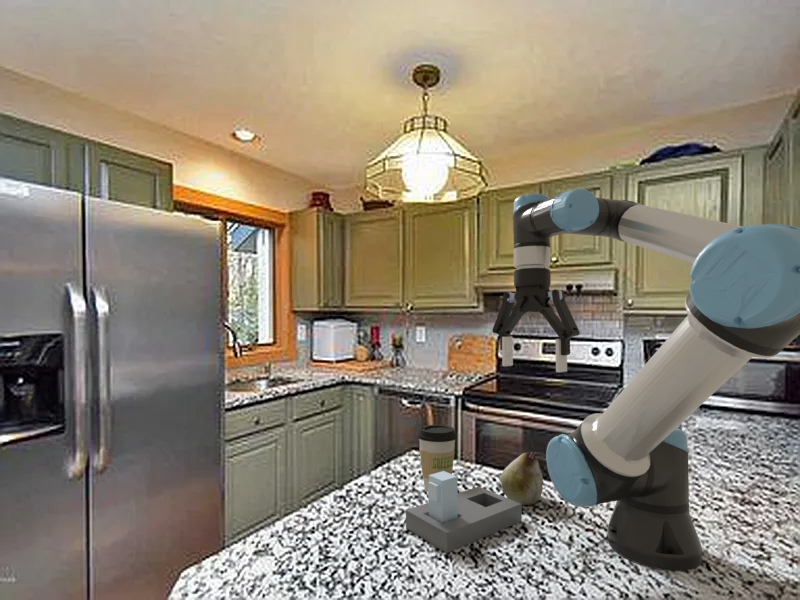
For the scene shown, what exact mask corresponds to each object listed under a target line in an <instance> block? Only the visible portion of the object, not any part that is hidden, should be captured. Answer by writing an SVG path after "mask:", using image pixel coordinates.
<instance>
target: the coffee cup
mask: <svg viewBox="0 0 800 600" xmlns="http://www.w3.org/2000/svg"><path fill="white" fill-rule="evenodd" d="M457 438H458V436H457V433H456V432H455V428H454V427H453V426H450V425H444V424H428V425H423V426H421V427H420V428H419V431H418V432H417V439H418V440H419V449H418V450H419V457H420V458H419V459H420V464H421V465H420V467H421V475H422V479H423V488H424V490H425V491H426V492H428V482H429V475H431V474H434V473H438V472H442V471H445V472H447V473H450V474H452V475H453V468H454V461H455V460H454V459H455V446H456V445H455V443H456V440H457Z"/></svg>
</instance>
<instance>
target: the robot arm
mask: <svg viewBox="0 0 800 600" xmlns="http://www.w3.org/2000/svg"><path fill="white" fill-rule="evenodd" d="M512 225H513V226H512V227H513V228H512V230H513V231H512V232H513V233H512V234H513V235H512V236H513V268H515V270H514V271H513V286H514V288H515V292H509V291H507V292H506V291H505V292H504V293H503V297H502V303H501V306H500V309H499V311H498V314H497V317H496V319H495V322H494V324H493V326H492V333H493V334H496V335H498V336H499V350H500V351H501V360H502V362H501V365H502V367H512V366H513V365H514V358H513V357H514V353H513V351H514V350H513V347H514V345H513V344H514V343H513V341H514V339H513V336H512V335H511V333H512V332H513V330H514V329H515V327H516V326H517V325H518V323H519V321H520V320H521V319H522V317H523V316H524V315H525V314H526V313H539V314H541V315H542V317H544V318H545V320H546V322H547V323H548V324H549V326H550V327H551V328H552V329H553V331H554V332H555V334H557V338H555V372H556V373H565V372H568V356H570V355H571V339H572V338H574V337H576V336H579V335H580V333H581V332H580V329H579V327H578V325H577V323H576V321H575V318H574V317H573V314H572V313H571V310H570V308H569V306H568V304H567V302H566V299H565V297H566V296H565V291H564V290H563V289H553V290H550V286H551V283H552V278H551V275H552V274H551V270H550V269H549V267H550V266H551V238H553V237H554V236H560V235H565V234H566V235H569V234H570V235H582V236H591V237H593V236H594V237H595V236H597V237H605V238H610V239H613V240H616V241H617V240H618V241H620V242H624V243H628V244H630V245H633V246H636V247H640V248H643V249H646V250H649V251H652V252H655V253H659V254H660V255H661V254H662V255H665V256H668V257H671V258H672V259H673V258H674V259H677V260H680V261H682V262H686V263H688V264H692V265H691V269H690V271H689V272H690V273H689V277H691V282H690V283H689V284H688V287H689V294H687V296H686V298H685V299H684V307H685V309H686V313H687V316H686V317H685V318H684V319H683V320H682V321H681V323H680V324H678V326H677V327H676V329H675V330H674V331H673V332H672V333H671V334H670V335H669V336H668V338H666V340H665V341H664V342H663V344H662V345H660V347H659V348H658V350H656V351H655V352H654V353H653V355H652V356H651V357H650V358H649V359H648V361H647V362H646V363H645V364H644V365H643V367H642V368H641V369H640V370H639V371H638V372H637V373H636V375H634V377H633V378H632V379H631V380H630V381H629V382H628V384H627V385H626V386H625V387H624V388H623V389H622V390H621V391H620V393H619V394H618V395H617V396H616V398H615V399H613V401H612V402H611V403H610V404H609V405H608V407H607V408H606V409H605V410H604V411H603V412H602V413H601V412H600V413H599V412H598V413H597V412H596V413H592V414H589V415H587V416H586V417H585V418H584V419H583V421H581V422H580V424H579V425H578V427H577V428H575V430H574V431H573V432H571V433H569V434H565V433H561V434H559V435H556V436H554V437H553V438H551V439H550V441H549V442H548V444H547V447H546V453H545V457H546V458H545V461H546V467H547V473H548V475H549V478H550V480H551V482H552V485H553V487H554V488H555V490H556V491H557V493H558V494H559V496H561V498H562V499H563V500H564V501H566V502H567V503H569V504H570V505H572V506H574V507H579V508H580V507H581V508H582V507H594V506H596V505H600V504H601V505H602V504H606V503H612V502H615V505H614V508H613V511H612V513H611V517H610V520H609V523H608V526H607V542H608V545H609V546H610V547H611V548H612V549H613V550H614V551H615V552H616V553H617V554H619V555H621V556H622V557H624V558H625V559H627V560H629V561H632V562H634V563H637V564H640V565H642V566H646V567H650V568H653V569H659V570H665V571H677V572H679V571H680V572H681V571H689V570H693V569H696V568H699V567H700V566H701V565H702V563H703V547H702V543H701V541H700V537H699V535H698V533H697V530H696V527H695V523H694V521H693V519H692V516H691V514H690V493H689V492H690V489H689V488H690V486H689V485H690V482H689V480H690V479H689V454H690V450H689V449H688V448H689V447H688V437H687V434H686V433H685V431H684V430H682V429H681V428H679V426H680V425H682V423H683V422H685V421H686V420H687V419H688V418H689V417H690V416H691V415H693V413H694V412H695V411H696V410H697V409H699V407H700V406H702V405H703V404H704V403H705V402H706V401H707V400H708V399H709V398H710V397H712V395H713V394H715V393H716V391H718V390H719V389H720V388H721V387H722V386H723V385H724V384H725V383H726V382H727V381H728V380H729V379H730V378H732V377H733V376H734V375H735V374H736V373H737V372H738V371H740V369H741V368H742V367H743V366H744V365H746V364H747V363H748V362H749V361H750V360H751V359H753V358H762V359H764V358H765V359H767V358H769V359H771V358H774V357H776V356H777V355H778V354H780V353H781V352H782V351H783V350H784V349H785V348H786V347H787V346H788V345H789V344H790V343H792V342H793V340H794V341H795V339H796V338H797V337H799V335H800V227H799V226H797V225H796V226H795V225H790V224H784V223H783V224H780V223H766V224H754V225H753V224H751V225H746V226H745V225H744V226H743V225H738V224H732V223H729V222H728V223H727V222H723V221H719V220H714V219H710V218H706V217H701V216H696V215H691V214H687V213H681V212H676V211H672V210H668V209H663V208H658V207H654V206H649V205H645V204H642V203H639V202H635V201H632V200H627V199H622V200H621V199H614V198H613V199H612V198H602V197H598V196H596V195H595V194H593V193H591V191H589V190H588V189H586V188H581V187H579V188H576V189H570V190H565V191H562V192H561V193H559V194H556V195H554V196H552V197H549V196H548V195H547V194H544V193H526V194H523V195H520V196H518V197H516V198H515V199H514V201H513V214H512ZM550 300H551V301H552V303H553V305H554V306H553V307H555V310H556V312H557V314H556V312H555V311H554V308H553V307H552V305H551V304H550ZM515 302H516V303H515ZM514 304H515V305H514Z"/></svg>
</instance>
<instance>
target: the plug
mask: <svg viewBox="0 0 800 600" xmlns="http://www.w3.org/2000/svg"><path fill="white" fill-rule="evenodd" d="M458 481H459V480H458V476H457V475H455V474H453V473H452V474H450V473H447V472H445V471H442V472H438V473H434V474H431V475H429V482H428V491H427V498H428V503H429V517H431V518H433V519H435V520H436V521H438V522H440V523H444V522H447V521H450V520H453V519H455V518H458V493H459V491H458V489H459V487H458Z"/></svg>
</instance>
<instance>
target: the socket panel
mask: <svg viewBox="0 0 800 600" xmlns="http://www.w3.org/2000/svg"><path fill="white" fill-rule="evenodd" d="M522 514H523V513H522V504H521V503H518V502H516V501H513V500H511V499H508V498H507V496H504V495H501V494H499V493H495V492H493V491H491V490H488V489H486V488H484V487H481V486H476V487H472V488H469V489H467V490H463V491H460V492H458V518H455V519H453V520H450V521H447V522H444V523H440V522H438V521H436V520H435V519H433V518H431V517H429V502H426V503H424V504H419V505H418V506H415V507H414V506H413V507H412V508H408V509H405V529H406V530H408V531H409V532H411V533H413V534H415V535H416V536H418V537H420V538H421V539H423V540H425V541H426V542H428V543H429V544H431V545H433V546H434V547H436V548H438V549H439V550H441V551H443V552H445V553H446V554H449V553H452V552H454V551H455V550H457V549H458V550H459V549H460V548H463V547H465V546H467V545H469V544H472V543H474V542H477V541H479V540H481V539H484V538H486V537H488V536H490V535H493V534H495V533H497V532H500V531H503V530H505V529H507V528H509V527H512V526H513V525H516V524H519V523H521V522H523V521H522V520H523V519H522V518H523V517H522Z"/></svg>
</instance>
